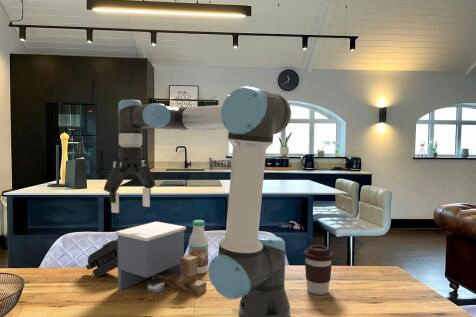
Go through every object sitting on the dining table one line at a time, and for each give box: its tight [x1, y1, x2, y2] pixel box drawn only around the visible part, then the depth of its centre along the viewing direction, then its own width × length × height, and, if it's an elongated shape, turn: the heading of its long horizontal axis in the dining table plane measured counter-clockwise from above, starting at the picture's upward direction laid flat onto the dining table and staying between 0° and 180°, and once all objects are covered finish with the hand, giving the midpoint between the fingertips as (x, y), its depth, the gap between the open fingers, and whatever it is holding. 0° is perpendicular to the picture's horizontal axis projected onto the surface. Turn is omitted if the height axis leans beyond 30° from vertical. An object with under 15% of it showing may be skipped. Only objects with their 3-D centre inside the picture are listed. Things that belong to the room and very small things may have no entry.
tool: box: [85, 238, 118, 278], centre depth 135 cm, size 6×19×15 cm, turn 78°
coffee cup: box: [303, 244, 334, 296], centre depth 123 cm, size 10×10×15 cm
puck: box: [146, 278, 166, 294], centre depth 122 cm, size 6×6×3 cm
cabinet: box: [115, 221, 187, 291], centre depth 126 cm, size 15×19×20 cm
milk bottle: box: [188, 219, 209, 275], centre depth 140 cm, size 8×8×20 cm
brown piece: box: [151, 254, 207, 296], centre depth 126 cm, size 22×4×11 cm, turn 58°
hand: (131, 209), depth 121 cm, fingers open, 13 cm apart
